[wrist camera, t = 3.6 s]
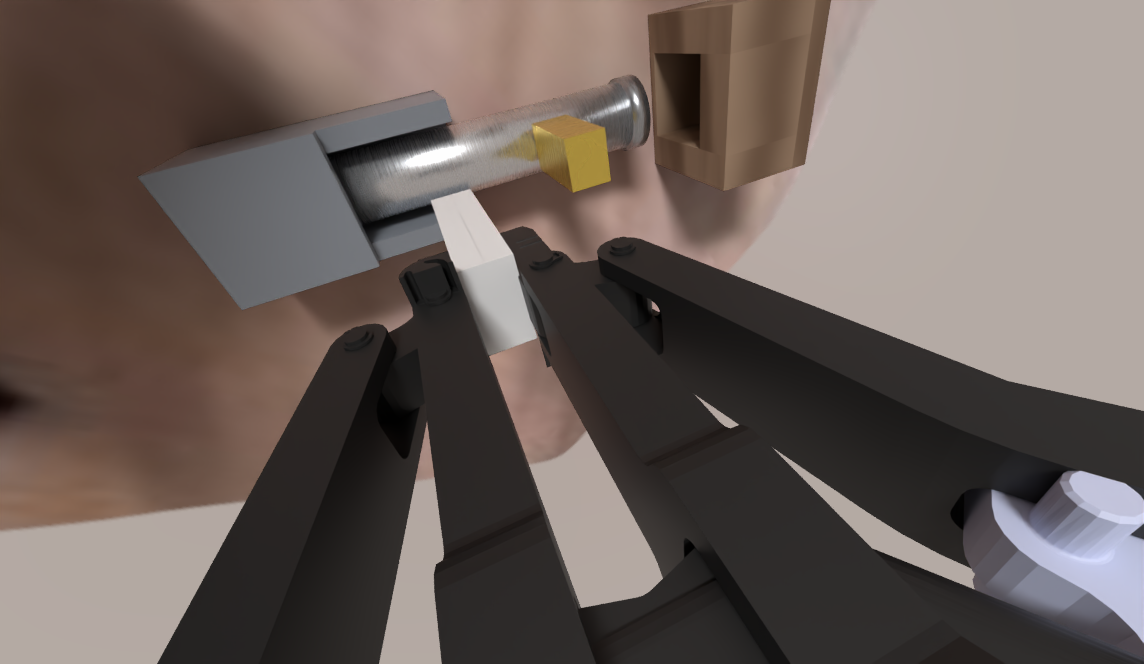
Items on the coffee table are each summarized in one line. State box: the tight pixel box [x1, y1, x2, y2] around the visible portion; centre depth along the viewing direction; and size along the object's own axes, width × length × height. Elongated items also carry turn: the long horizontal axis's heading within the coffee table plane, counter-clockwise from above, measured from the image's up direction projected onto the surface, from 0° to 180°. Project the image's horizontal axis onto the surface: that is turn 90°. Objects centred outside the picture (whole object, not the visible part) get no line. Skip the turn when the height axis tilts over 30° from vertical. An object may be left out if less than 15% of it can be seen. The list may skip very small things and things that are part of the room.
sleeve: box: [138, 90, 452, 310], centre depth 23 cm, size 13×7×6 cm, turn 100°
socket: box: [648, 0, 831, 191], centre depth 26 cm, size 6×9×8 cm, turn 10°
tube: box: [328, 75, 650, 225], centre depth 22 cm, size 22×4×9 cm, turn 100°
